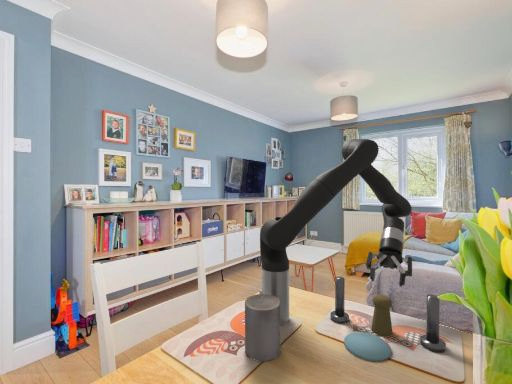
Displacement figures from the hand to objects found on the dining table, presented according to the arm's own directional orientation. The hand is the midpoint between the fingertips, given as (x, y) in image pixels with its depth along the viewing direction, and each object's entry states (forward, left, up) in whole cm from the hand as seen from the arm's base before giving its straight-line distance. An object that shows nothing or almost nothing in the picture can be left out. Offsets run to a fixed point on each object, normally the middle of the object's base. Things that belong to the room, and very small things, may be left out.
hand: (386, 282), depth 88 cm
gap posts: (0, -8, -13) cm, 15 cm away
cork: (0, -8, -13) cm, 15 cm away
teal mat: (-2, -19, -13) cm, 23 cm away
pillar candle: (-25, -37, -13) cm, 47 cm away
